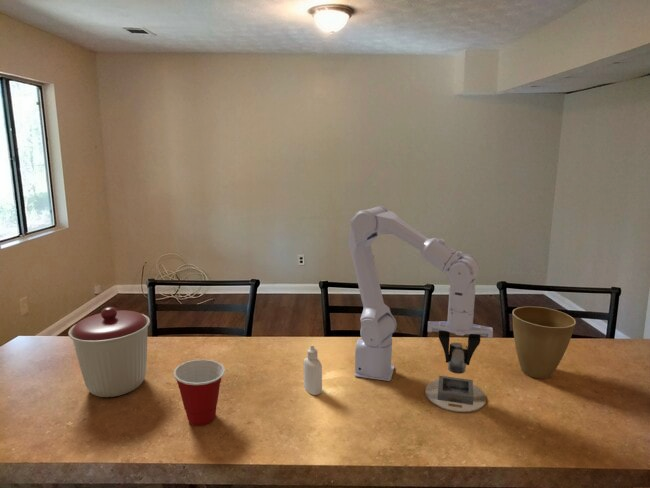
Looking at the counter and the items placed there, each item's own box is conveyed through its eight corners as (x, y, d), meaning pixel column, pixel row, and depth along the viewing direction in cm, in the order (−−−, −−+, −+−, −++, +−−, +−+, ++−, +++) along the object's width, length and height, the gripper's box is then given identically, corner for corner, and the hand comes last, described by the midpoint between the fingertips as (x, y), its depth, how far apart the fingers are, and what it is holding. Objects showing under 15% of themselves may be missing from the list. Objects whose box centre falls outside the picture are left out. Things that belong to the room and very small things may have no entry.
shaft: (447, 364, 110) (448, 341, 109) (464, 365, 109) (465, 342, 108) (449, 372, 106) (451, 348, 105) (466, 374, 106) (468, 349, 104)
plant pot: (554, 393, 110) (561, 332, 107) (496, 370, 121) (501, 314, 117) (577, 373, 120) (585, 316, 116) (522, 354, 131) (528, 301, 127)
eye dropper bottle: (320, 383, 115) (320, 339, 112) (322, 395, 109) (322, 350, 107) (303, 384, 114) (303, 340, 112) (304, 396, 109) (303, 350, 106)
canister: (168, 385, 114) (161, 306, 109) (93, 416, 101) (82, 328, 97) (136, 362, 126) (129, 290, 122) (65, 387, 113) (54, 308, 109)
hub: (423, 406, 104) (424, 396, 104) (427, 377, 118) (427, 368, 117) (487, 416, 101) (488, 406, 100) (484, 385, 114) (484, 375, 113)
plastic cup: (225, 431, 96) (222, 380, 93) (173, 435, 94) (168, 383, 92) (229, 402, 106) (226, 356, 104) (182, 406, 105) (178, 359, 102)
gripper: (428, 311, 102) (425, 365, 105) (495, 317, 99) (490, 374, 102) (429, 300, 109) (426, 352, 112) (493, 306, 105) (488, 359, 108)
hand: (457, 361), depth 107 cm, fingers closed on shaft, 4 cm apart
